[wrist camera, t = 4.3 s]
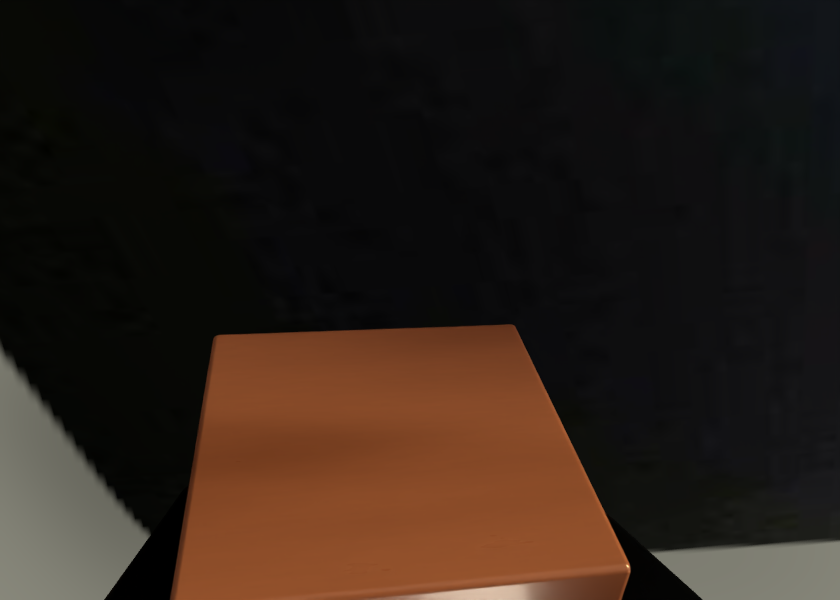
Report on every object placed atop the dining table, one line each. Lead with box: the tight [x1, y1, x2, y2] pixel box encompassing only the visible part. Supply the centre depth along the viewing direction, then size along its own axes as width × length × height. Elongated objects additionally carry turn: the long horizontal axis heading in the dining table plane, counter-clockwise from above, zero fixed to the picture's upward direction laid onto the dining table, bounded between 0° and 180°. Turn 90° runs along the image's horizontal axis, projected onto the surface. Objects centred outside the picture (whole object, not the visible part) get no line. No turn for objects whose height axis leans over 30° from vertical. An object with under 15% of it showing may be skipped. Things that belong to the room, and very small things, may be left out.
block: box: [170, 324, 630, 600], centre depth 9 cm, size 4×4×4 cm
